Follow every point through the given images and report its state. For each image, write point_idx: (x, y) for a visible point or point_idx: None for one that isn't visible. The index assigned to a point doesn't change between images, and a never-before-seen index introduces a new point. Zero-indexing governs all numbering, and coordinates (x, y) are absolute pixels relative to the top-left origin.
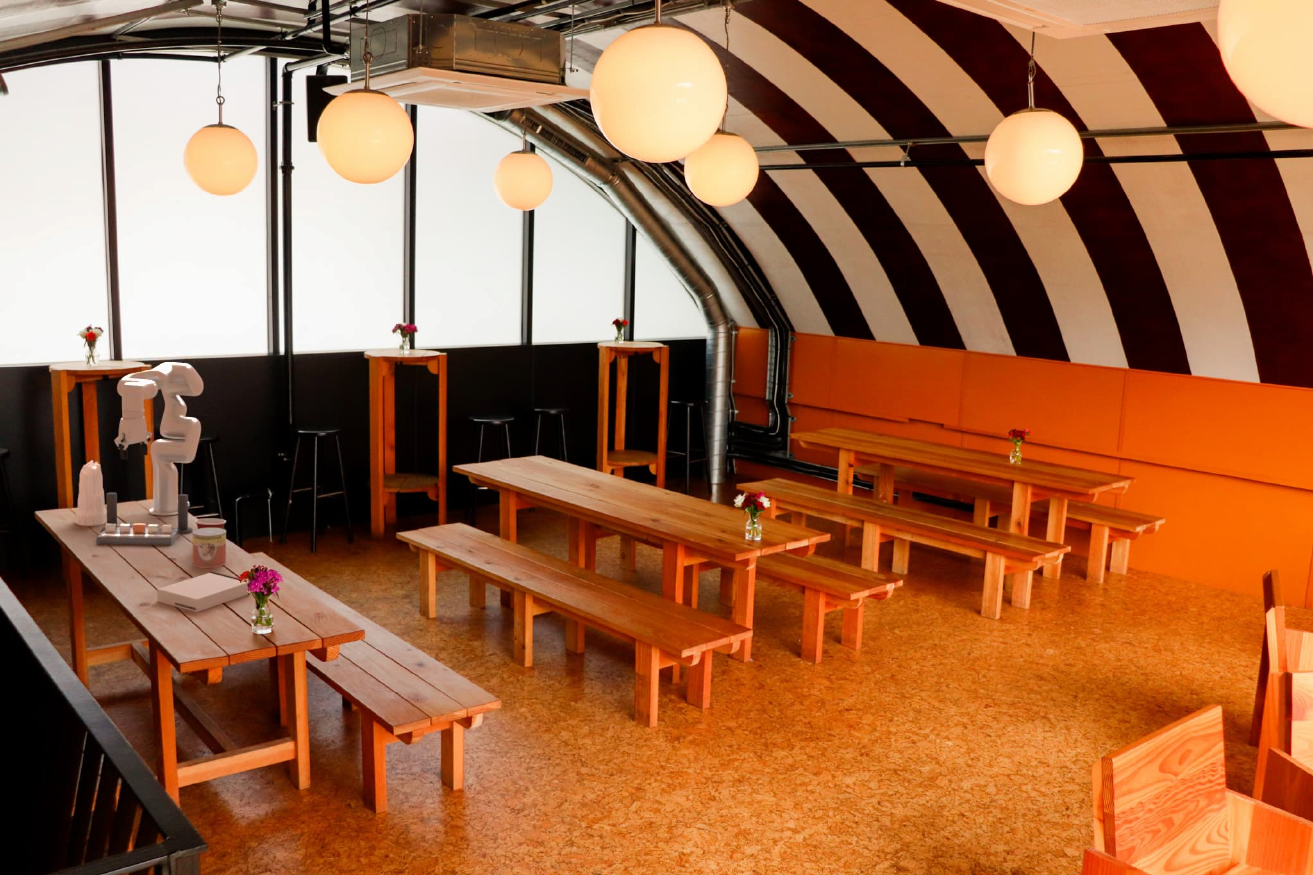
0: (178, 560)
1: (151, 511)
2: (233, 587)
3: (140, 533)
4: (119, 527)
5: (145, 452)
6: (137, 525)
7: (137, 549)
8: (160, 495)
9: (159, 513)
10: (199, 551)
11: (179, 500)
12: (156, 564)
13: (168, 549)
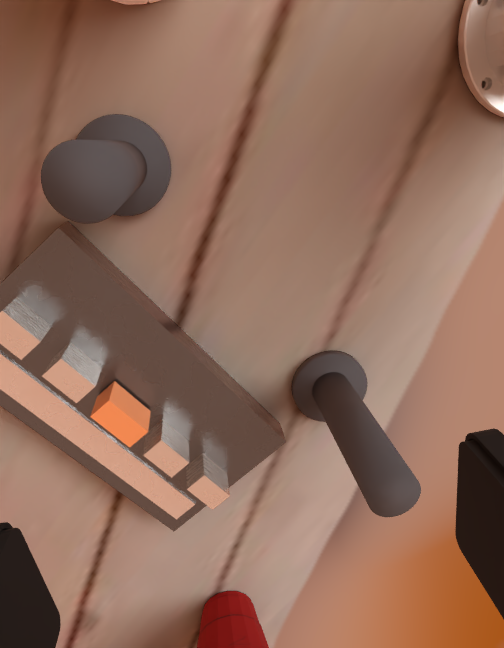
0: (90, 639)
1: (476, 1)
2: None
3: None
4: (102, 273)
5: (481, 577)
6: (107, 427)
7: (51, 485)
8: None
9: (469, 74)
10: None
11: (358, 482)
12: None
13: (137, 538)
